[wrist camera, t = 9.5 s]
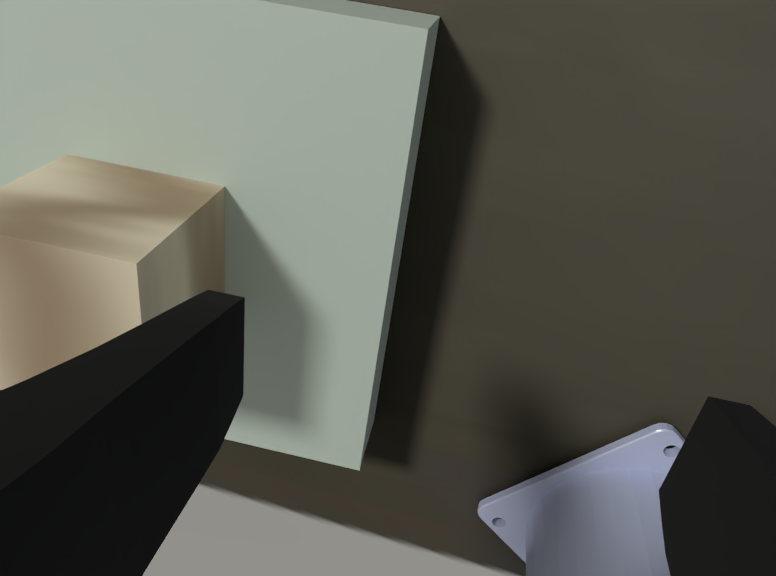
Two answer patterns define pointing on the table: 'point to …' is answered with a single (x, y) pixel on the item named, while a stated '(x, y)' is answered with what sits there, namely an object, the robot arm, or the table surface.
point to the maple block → (99, 256)
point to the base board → (251, 169)
